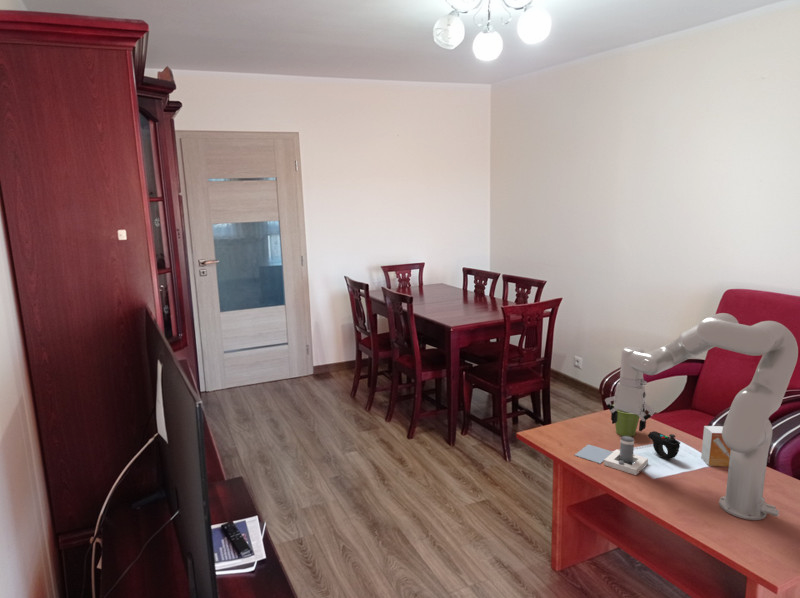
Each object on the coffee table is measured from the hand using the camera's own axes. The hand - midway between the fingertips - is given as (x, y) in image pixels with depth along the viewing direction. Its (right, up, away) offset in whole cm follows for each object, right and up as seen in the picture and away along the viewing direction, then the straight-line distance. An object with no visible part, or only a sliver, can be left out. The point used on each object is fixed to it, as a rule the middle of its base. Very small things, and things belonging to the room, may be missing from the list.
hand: (627, 426), depth 195 cm
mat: (-8, -13, +11) cm, 19 cm away
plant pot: (+11, -10, +28) cm, 32 cm away
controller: (+16, -14, +8) cm, 23 cm away
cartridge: (0, -15, +3) cm, 15 cm away
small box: (+34, -14, +3) cm, 37 cm away
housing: (0, -15, +3) cm, 15 cm away
